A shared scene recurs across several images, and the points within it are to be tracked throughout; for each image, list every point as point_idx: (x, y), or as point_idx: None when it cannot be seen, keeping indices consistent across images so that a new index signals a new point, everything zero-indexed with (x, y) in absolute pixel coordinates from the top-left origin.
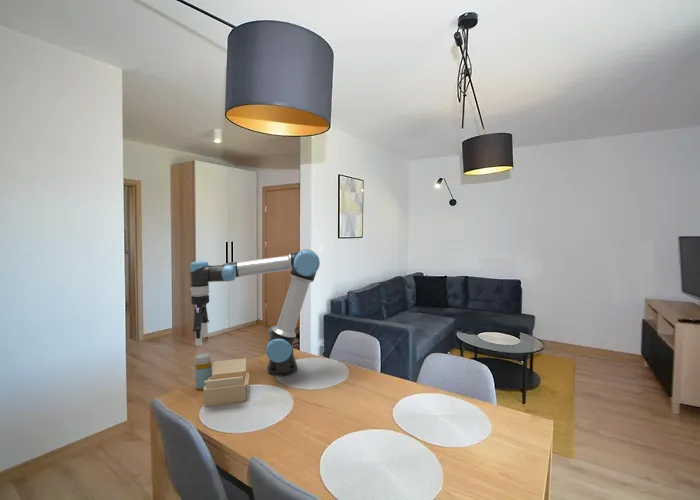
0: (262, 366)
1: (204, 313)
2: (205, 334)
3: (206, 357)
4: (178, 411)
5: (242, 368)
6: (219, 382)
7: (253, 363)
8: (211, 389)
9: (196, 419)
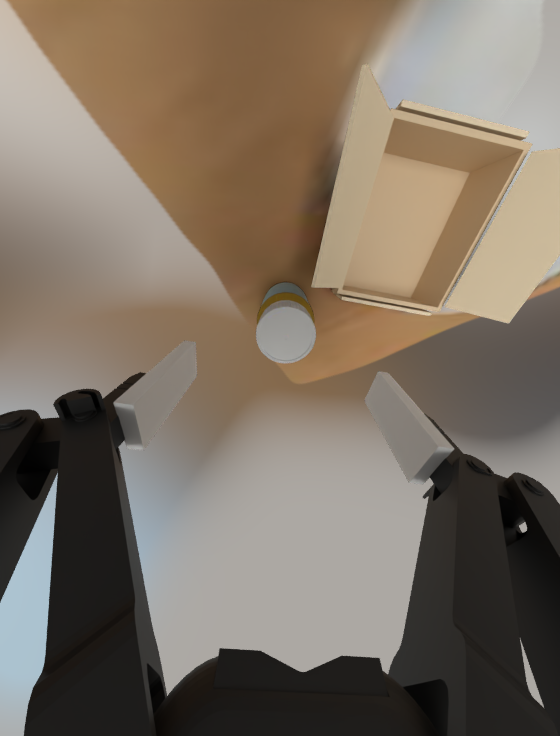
0: (144, 4)
1: (146, 649)
2: (189, 361)
3: (312, 321)
4: (388, 355)
5: (381, 132)
6: (520, 265)
7: (93, 68)
8: (449, 291)
9: (458, 319)
